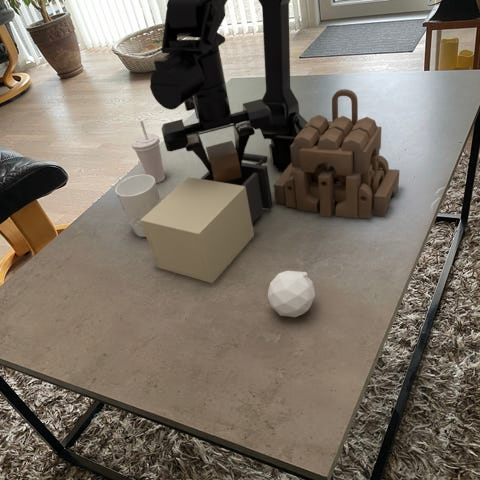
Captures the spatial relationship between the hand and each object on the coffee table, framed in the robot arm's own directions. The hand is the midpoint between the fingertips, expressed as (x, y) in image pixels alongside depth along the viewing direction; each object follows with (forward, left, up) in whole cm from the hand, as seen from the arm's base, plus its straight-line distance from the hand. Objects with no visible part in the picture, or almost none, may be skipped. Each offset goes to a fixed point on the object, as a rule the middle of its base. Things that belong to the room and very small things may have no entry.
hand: (225, 169), depth 90 cm
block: (0, 0, -1) cm, 1 cm away
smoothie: (+14, -25, -11) cm, 31 cm away
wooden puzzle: (-21, +1, -11) cm, 23 cm away
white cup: (+17, -5, -11) cm, 21 cm away
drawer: (-1, 0, -10) cm, 10 cm away
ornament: (-4, +29, -11) cm, 32 cm away
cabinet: (+7, +8, -11) cm, 15 cm away
